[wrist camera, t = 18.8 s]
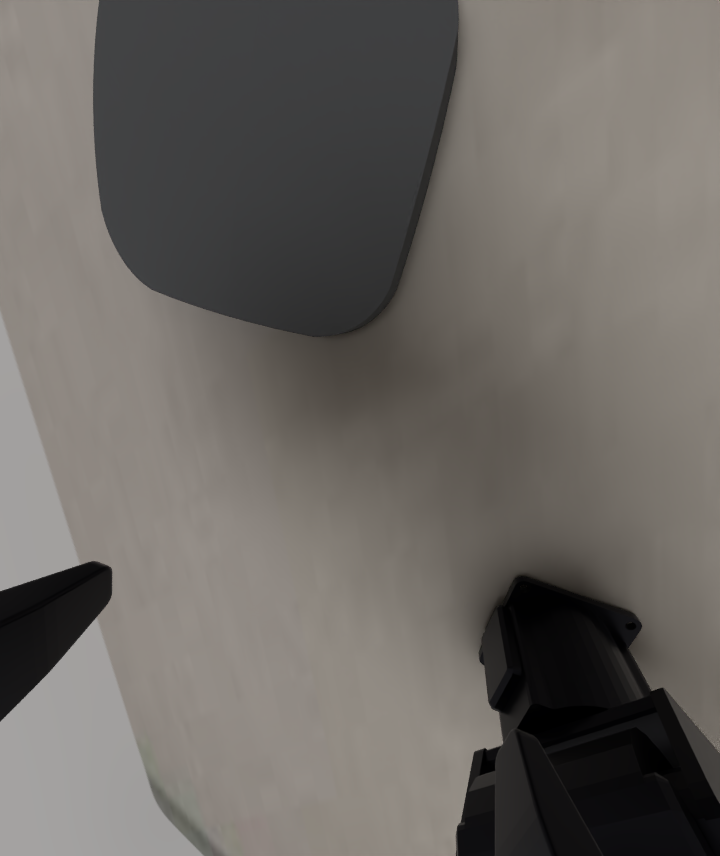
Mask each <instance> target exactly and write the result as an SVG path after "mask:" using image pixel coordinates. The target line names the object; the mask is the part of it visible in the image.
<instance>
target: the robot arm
mask: <svg viewBox="0 0 720 856" xmlns="http://www.w3.org/2000/svg"><path fill="white" fill-rule="evenodd" d="M522 585H527V587H525V588H521V587H520V586H522ZM111 595H112V569H111V567H109V566H107V565H105V564H102V563H100V562H96V561H92V562H88V563H85V564H82V565H79V566H76V567H73V568H70V569H67V570H64V571H61V572H57V573H54V574H51V575H48V576H46V577H42V578H39V579H36V580H33V581H30V582H27V583H24V584H21V585H18V586H15V587H12V588H9V589H6V590H3V591H0V721H1V720H2V719H3V718H4V717H5V716H6V715H7V714H8V713H9V712H10V711H11V710H12V709H13V708H14V707H15V706H16V705H17V704H18V703H19V702H20V701H21V700H22V699H23V698H24V697H25V696H26V695H27V694H28V693H29V692H30V691H31V690H32V689H33V688H34V687H35V686H36V685H37V684H38V683H39V682H40V681H41V680H42V679H43V678H44V677H45V676H46V675H47V674H48V673H49V672H50V670H51V669H52V668H53V667H54V666H55V665H56V664H57V663H58V661H59V660H60V659H61V658H62V657H63V656H64V655H65V653H66V652H67V651H68V650H69V649H70V647H71V646H72V645H73V644H74V643H75V642H76V641H77V639H78V638H79V637H80V636H81V635H82V634H83V632H84V631H85V630H86V629H87V628H88V626H89V625H90V624H91V623H92V622H93V621H94V619H95V618H96V617H97V616H98V615H99V614H100V612H101V611H102V610H103V609H104V608H105V607H106V605H107V604H108V602H109V600H110V598H111ZM628 622H632V623H630V624H627V623H628ZM641 628H642V625H641V622H640V621H639V619H638V618H637V616H636V615H634V614H632V613H630V612H627V611H624V610H621V609H618V608H615V607H613V606H610V605H607V604H604V603H601V602H598V601H595V600H592V599H589V598H586V597H584V596H581V595H578V594H575V593H572V592H569V591H566V590H563V589H560V588H557V587H554V586H552V585H549V584H546V583H543V582H540V581H537V580H534V579H531V578H528V577H525V576H520V577H517V578H516V579H515V580H514V581H513V583H512V586H511V588H510V590H509V592H508V594H507V596H506V598H505V600H504V602H503V604H502V605H500V606H498V607H496V609H495V611H494V613H493V615H492V617H491V619H490V621H489V623H488V626H487V628H486V630H485V632H484V634H483V636H482V647H481V649H480V651H479V660H480V662H481V663H482V664H483V665H484V666H485V675H486V684H487V693H488V702H489V704H490V706H491V708H492V709H493V710H496V711H498V712H499V715H500V722H501V730H502V737H503V745H501V746H498V747H495V748H492V749H489V750H487V749H486V748H484V749H481V750H478V751H475V752H474V756H473V761H472V766H471V771H470V777H469V782H468V787H467V793H466V798H465V803H464V808H463V814H462V819H461V823H459V825H458V826H457V832H456V849H457V850H456V856H720V753H719V752H718V751H717V750H716V749H715V747H714V746H713V745H712V744H711V743H710V741H709V740H708V739H707V738H706V737H705V736H704V734H703V733H702V732H701V731H700V730H699V729H698V727H697V726H696V725H695V724H694V723H693V722H692V720H691V719H690V718H689V717H688V716H687V714H686V713H685V712H684V711H683V710H682V709H681V707H680V706H679V705H678V704H677V703H676V702H675V700H674V699H673V698H672V697H671V696H670V695H669V693H668V692H667V691H666V690H665V689H664V688H660V689H657V690H654V691H651V689H650V687H649V685H648V684H647V682H646V680H645V678H644V676H643V674H642V673H641V671H640V669H639V667H638V665H637V663H636V662H635V660H634V658H633V656H632V654H631V652H630V651H629V649H628V648H629V646H630V645H631V643H632V642H633V640H634V639H635V638H636V636H637V635H638V633H639V632H640V630H641Z"/></svg>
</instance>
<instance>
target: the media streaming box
mask: <svg viewBox="0 0 720 856" xmlns="http://www.w3.org/2000/svg"><path fill="white" fill-rule="evenodd" d="M457 42H458V0H99V7H98V16H97V26H96V39H95V54H94V79H93V113H94V140H95V155H96V168H97V177H98V187H99V195H100V202H101V209H102V213H103V217H104V221H105V224H106V227H107V229H108V232H109V234H110V237H111V239H112V241H113V244H114V246H115V247H116V249H117V251H118V253H119V255H120V256H121V258H122V260H123V261H124V262H125V264H126V265H127V267H128V268H129V269H130V270H131V272H132V273H133V274H134V275H135V276H136V277H137V278H138V279H139V280H140V281H141V282H142V283H143V284H145V285H146V286H147V287H149V288H150V289H152V290H154V291H157V292H159V293H162V294H164V295H167V296H169V297H172V298H175V299H177V300H180V301H183V302H186V303H188V304H191V305H194V306H197V307H200V308H203V309H206V310H210V311H213V312H216V313H219V314H223V315H226V316H229V317H233V318H237V319H240V320H244V321H247V322H251V323H255V324H259V325H263V326H267V327H271V328H276V329H280V330H284V331H289V332H293V333H298V334H303V335H308V336H313V337H322V336H331V335H336V334H341V333H346V332H350V331H353V330H355V329H358V328H360V327H362V326H364V325H365V324H367V323H368V322H370V321H371V320H373V319H374V318H375V317H376V316H377V315H378V314H379V313H380V312H381V311H382V310H383V309H384V308H385V307H386V306H387V304H388V303H389V302H390V300H391V299H392V297H393V295H394V293H395V291H396V289H397V286H398V283H399V280H400V277H401V274H402V271H403V268H404V265H405V262H406V259H407V256H408V252H409V249H410V246H411V243H412V239H413V236H414V233H415V229H416V226H417V223H418V219H419V216H420V212H421V209H422V205H423V202H424V198H425V194H426V191H427V187H428V183H429V180H430V176H431V172H432V168H433V164H434V160H435V157H436V153H437V149H438V145H439V141H440V136H441V132H442V128H443V124H444V120H445V115H446V111H447V107H448V102H449V98H450V93H451V89H452V84H453V80H454V75H455V70H456V62H457Z"/></svg>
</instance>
